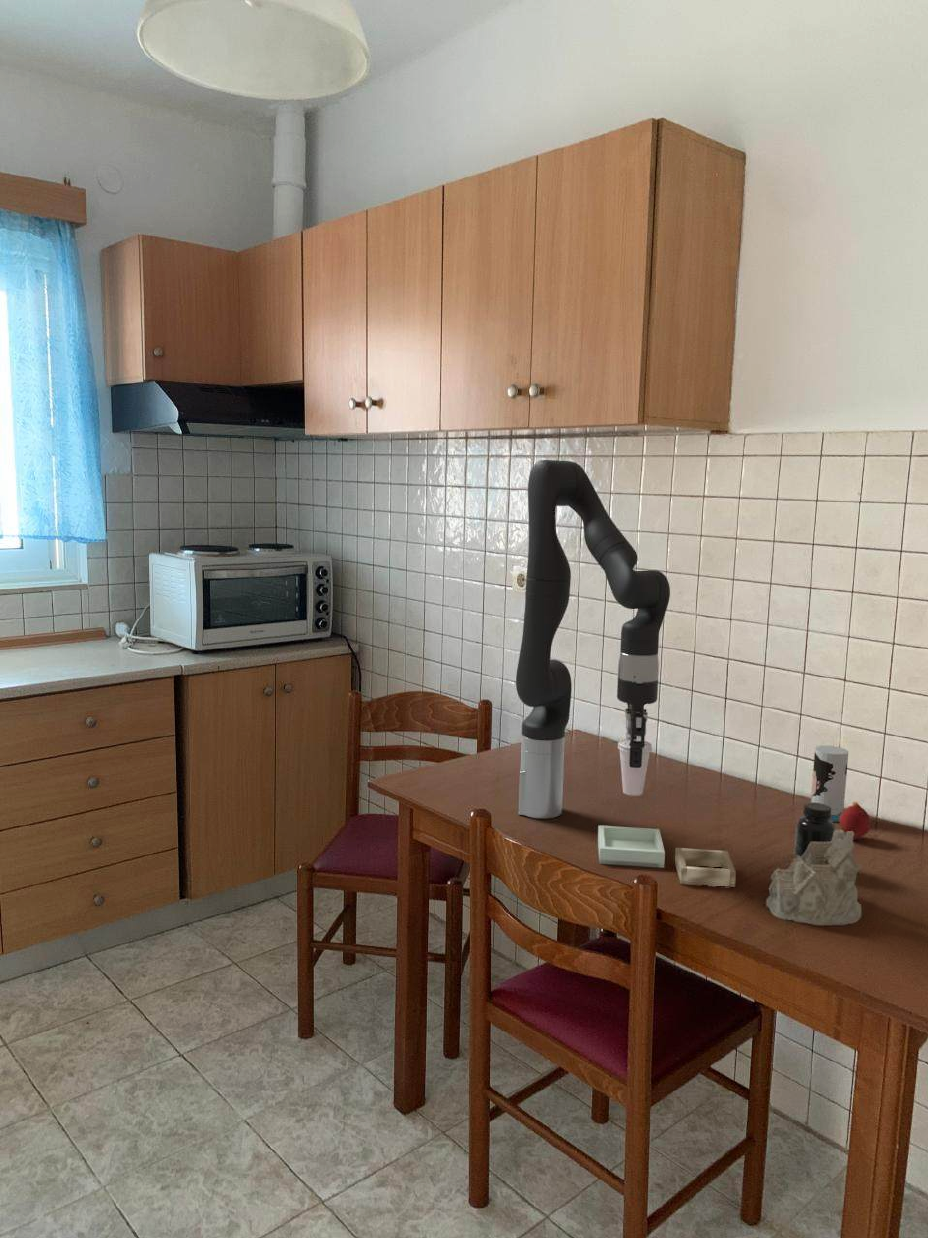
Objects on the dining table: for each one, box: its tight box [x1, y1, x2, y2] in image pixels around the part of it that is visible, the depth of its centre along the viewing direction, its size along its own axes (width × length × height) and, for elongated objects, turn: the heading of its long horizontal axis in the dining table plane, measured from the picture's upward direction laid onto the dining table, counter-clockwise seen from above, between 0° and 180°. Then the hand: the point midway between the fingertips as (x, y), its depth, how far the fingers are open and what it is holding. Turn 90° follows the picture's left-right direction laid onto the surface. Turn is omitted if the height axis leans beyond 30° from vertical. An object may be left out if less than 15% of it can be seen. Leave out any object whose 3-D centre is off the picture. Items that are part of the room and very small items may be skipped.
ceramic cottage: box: [765, 829, 862, 926], centre depth 158 cm, size 16×16×15 cm
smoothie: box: [617, 736, 653, 796], centre depth 177 cm, size 6×6×14 cm
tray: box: [597, 825, 666, 869], centre depth 179 cm, size 12×12×3 cm
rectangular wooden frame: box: [674, 847, 737, 888], centre depth 170 cm, size 10×10×3 cm
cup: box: [810, 745, 849, 823], centre depth 201 cm, size 7×7×15 cm
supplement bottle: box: [793, 802, 836, 860], centre depth 174 cm, size 7×7×12 cm
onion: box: [839, 800, 871, 841], centre depth 189 cm, size 6×6×8 cm
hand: (634, 761), depth 177 cm, fingers closed on smoothie, 6 cm apart
